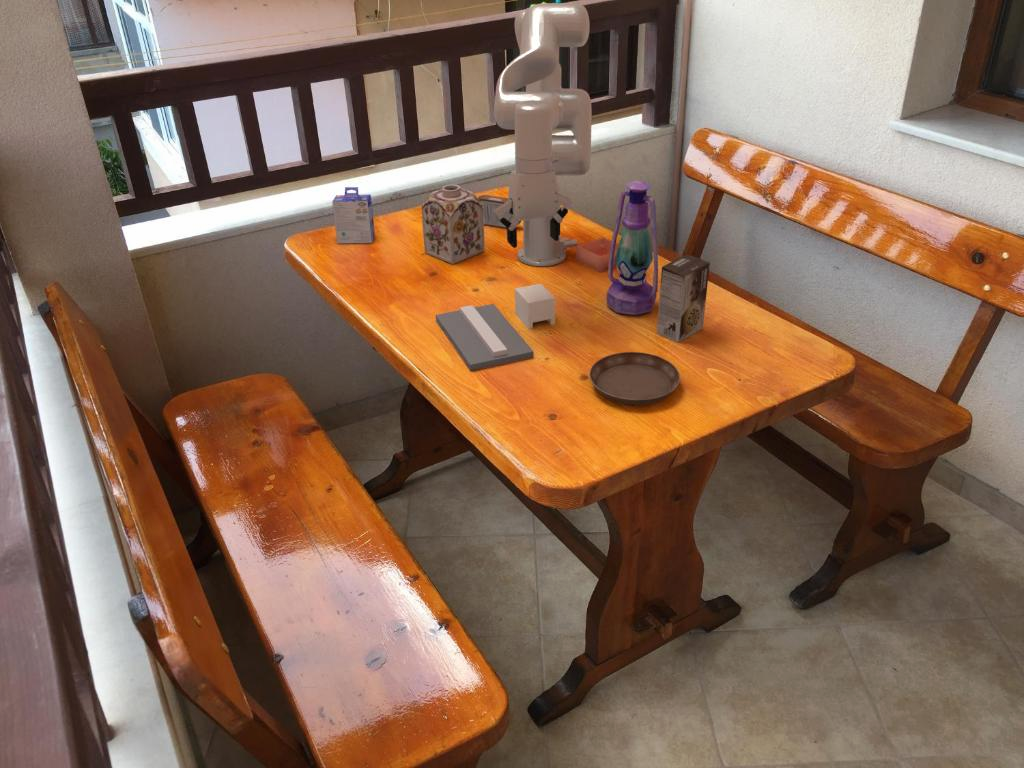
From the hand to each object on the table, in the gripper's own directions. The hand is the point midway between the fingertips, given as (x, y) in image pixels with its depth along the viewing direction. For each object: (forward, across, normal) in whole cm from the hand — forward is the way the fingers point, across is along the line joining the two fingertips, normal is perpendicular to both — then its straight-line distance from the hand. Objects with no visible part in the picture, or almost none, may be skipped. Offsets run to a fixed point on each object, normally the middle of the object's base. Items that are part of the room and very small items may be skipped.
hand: (533, 242), depth 186 cm
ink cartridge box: (+18, +27, -62) cm, 70 cm away
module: (+19, 0, 0) cm, 19 cm away
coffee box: (+19, -27, +18) cm, 38 cm away
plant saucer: (+19, -7, +34) cm, 40 cm away
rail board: (+19, +14, +4) cm, 24 cm away
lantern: (+19, -23, +3) cm, 30 cm away
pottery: (+19, -29, -18) cm, 39 cm away
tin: (+18, -12, -56) cm, 60 cm away
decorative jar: (+18, +5, -43) cm, 47 cm away
